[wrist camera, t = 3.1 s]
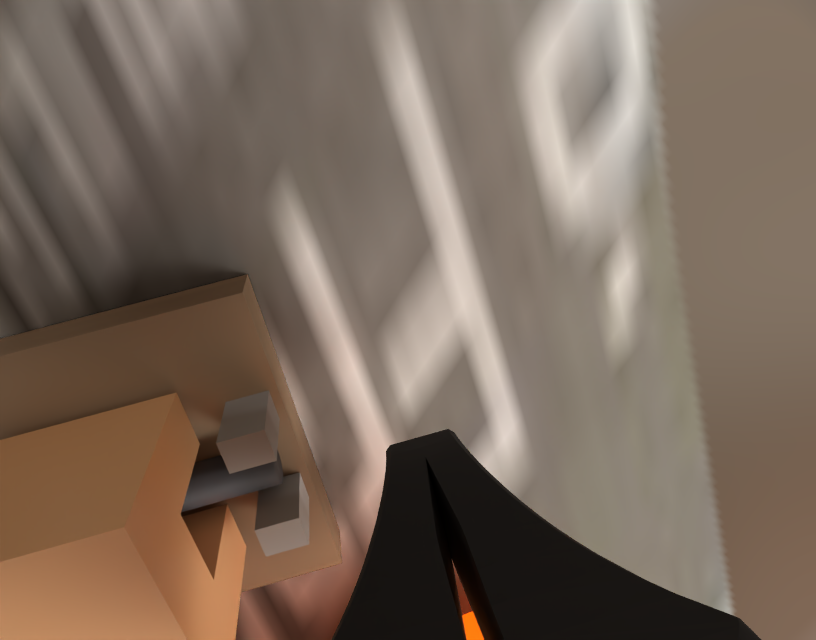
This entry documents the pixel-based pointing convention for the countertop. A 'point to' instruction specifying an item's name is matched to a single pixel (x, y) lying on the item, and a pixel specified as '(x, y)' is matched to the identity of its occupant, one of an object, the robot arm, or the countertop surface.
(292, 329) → the countertop surface
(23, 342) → the cord board
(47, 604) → the tan small block
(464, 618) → the orange juice
